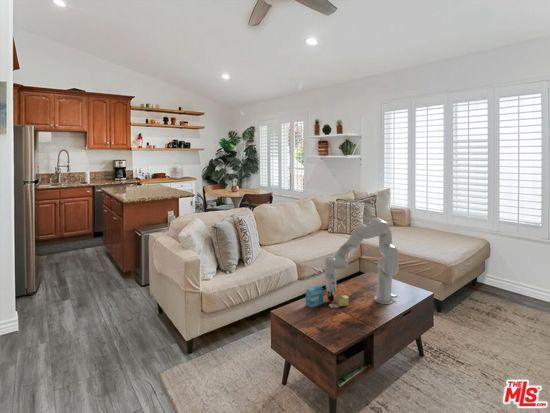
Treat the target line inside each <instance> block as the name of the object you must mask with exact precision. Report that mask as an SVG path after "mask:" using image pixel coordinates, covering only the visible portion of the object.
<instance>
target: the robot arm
mask: <svg viewBox="0 0 550 413" xmlns="http://www.w3.org/2000/svg"><path fill="white" fill-rule="evenodd" d="M392 235H393V234H392V231H391V227H390V226H389V224H388V222H387V221H385V220H383V219H381V218H379V217H373V218H371V220H370V225H366V224H365V223H358V224H357V225H356V226H355V228H354V229H353V231H352V233H351V234H350V236H349V237H348V239H347V241H346V242H344V243H343V244H342V245H341V246H340V247H339V249H338V250H337V252H336V253H335V255H334V256H326V258H325V260H324V261H325V262H324V269H325V270H324V276H325V277H324V278H325V289H326V291H327V296H326V297H327V300H328V302H329V301H332V302H334V298H335V295H336V294H335V293H337V291H338V289H337V288H338V285H337V269H339V270H346V269H347V268H348V267H349V264H350V262H349V260H348V259H347V256H348V254H349V253H350V252H352V251H354V250H357V249H358V248H359V247H360V246H361V244H362V242H363V241H364V240H367V239H368V240H369V239H373V238H376V237H378V251H379V252H378V253H380V255H382V256H381V257H379V258H378V260H377V264H376V266H377V282H376V283H377V285H376V295H375V296H374V297H373V299H374V301H375V302H376V303H379V304H382V305H391V304H393V302H394V299H396V298H398V294H394V293H392V287H393V286H392V284H393V283H392V282H393V276H395V275H396V274H397V273H398V272H399V265H400V264H399V263H400V260H399V259H400V258H399V257H400V256H399V250H398V248H397V247H395V245H394V244H393V237H392ZM329 293H330V296H329Z"/></svg>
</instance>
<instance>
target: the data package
mask: <svg viewBox="0 0 550 413" xmlns="http://www.w3.org/2000/svg"><path fill="white" fill-rule="evenodd" d="M323 303H324V288H323V287H322V286H319V285H316V286H313V287H309V288H307V289H306V290H305V306H307V307H309V308H311V309H312V308H314V307H317V306H321V305H322V304H323Z"/></svg>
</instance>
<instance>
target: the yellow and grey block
mask: <svg viewBox="0 0 550 413" xmlns="http://www.w3.org/2000/svg"><path fill="white" fill-rule="evenodd" d="M349 299H350V297H349V296H348V295H346V294H345V295H342V294H337V296H336V303H335V304H337V305H338V307H346V306H349V305H350V304H349V302H350V300H349Z"/></svg>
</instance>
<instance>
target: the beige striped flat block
mask: <svg viewBox="0 0 550 413" xmlns="http://www.w3.org/2000/svg"><path fill="white" fill-rule="evenodd" d="M328 307H330V309H338V308H339V306H338V305H337V303H329V304H328Z"/></svg>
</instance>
